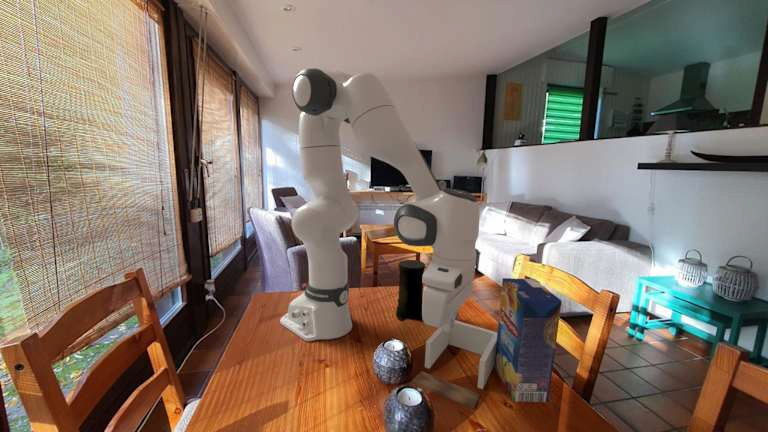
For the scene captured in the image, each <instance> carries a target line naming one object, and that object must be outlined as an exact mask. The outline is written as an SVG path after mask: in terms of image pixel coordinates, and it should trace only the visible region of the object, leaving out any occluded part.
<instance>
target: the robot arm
mask: <svg viewBox="0 0 768 432" xmlns="http://www.w3.org/2000/svg"><path fill="white" fill-rule="evenodd" d="M291 90H292V92H291V93H292V98H293V102H294V104H295V107H297V109H298V110H299V111H300V112H301V113H300V115H299V121H298V122H299V123H298V145H299V154H300V160H301V169H302V177H303V179H304V180H305V182H306V183H307V184H309V186H310V188H311V190H312V192H313V195H314V198H315V200H312V201H308V202H306V203H305V204H302V206H300V207H299V208H297V209H296V210H295V211H294V212H293V214H292V217H291V228H292V232H293V234H294V235H295V237H296V238H298V240H300V241H302V243H303V246H304V247H305V251H306V254H307V260H308V281H307V282H304V283H302V284H301V288H303V289H304V288H305V290H304V292H303V293H301V294H300V295H298V296H297V297H296V298H294V299H292V300H291V301H290V303H289V305H288V309H287V313H285V314H284V315H283V316H282V317H281V318H280V320H279V323H280V325H281V326H283V327H284V328H286V329H288V330H289V331H291V333H294V334H295V335H296V336H298V337H300V338H301V339H302V340H304V341H306V342H312V341H317V340H333V339H334V340H335V339H338V338H341V337H343V336H346V335H348V333H349V332H350V331H352V329H353V322H352V318H351V314H350V307H349V295H350V292H349V291H350V286H349V280H348V256H347V253H345V252H344V251H343V248H342V245H341V240H340V235H341V234H342V233H343V232H346V231H348V230H350V229H351V228H352V227H353V226H354V224H355V223H356V222H357V220H358V218H359V215H360V214H359V213H360V212H359V207H358V205H357V202H356V201H354V199H353V198H352V195H351V192H350V190H349V187H348V185H347V181H346V178H345V173H344V163H343V157H342V156H343V155H342V147H341V139H340V126H341V125H342V123H343V122H345V123H346V124H350V126H351V128H352V131H353V134H354V136H355V138H356V140H357V142H358V144H359V146H360V147H361V148H362V150H363V151H364V152H365V153H366V154H367V155H368V156H370V157H371V158H374V159H376V160H379V161H381V162H385V164H386V163H387V164H389V165H390V166H392V167H394V168H395V169H397V170H398V171H400V172H401V174H402V175H403V176H404V178H405V179H406V181H407V183H408V185H409V186H410V188H411V190H412V192H413V194H414V195H415V197H416V201H411V202H407V203H405V204H402V205H401V206H400V207H399V208H398V209H397V210H396V212H395V214H394V218H393V229H394V232H395V235H396V237H397V238H398V240H400V241H401V242H402V243H403V244H405V245H407V246H411V247H431V248H432V259H430V263H429V265H428V266H427V267H426V270H424V274H423V277H422V283H423V285H425V286H424V287H423V295H422V300H423V303H422V318H423V319H422V321H423V323H424V324H425V325H427V326H430V327H433V328H436V329H438V328H441V327H442V329H443V330H444V331H447V332H449V331H450V330H451V328H452V327H453V326H454V324H455V318H456V315H457V312H458V313H459V309H460V307H461V306H462V305H463V304H464V303H465V302H466V301H467V300H468V299H469V298H470V297H471V296H472V292H473V288H474V287H473V286H474V285H473V284H474V279H475V273H476V272H475V271H476V262H477V252H476V251H477V250H476V243H477V240H478V237H479V231H480V205H479V201H478V198H477V197H476V196H475V195H473V194H472V193H470V192H468V191H465V190H461V189H455V188H441V186H440V184H439V182H438V180H437V179H436V177H435V175H434V174H433V171H432V170H431V167H430V166H429V164H428V163H427V161H426V159H425V157H424V156H423V153H422V152H421V150H420V149H419V147H418V146H417V145H416V143H415V141H414V140H413V138H412V137H411V135H410V134H409V131H408V130H407V128H406V126H405V124H404V122H403V121H402V118H401V117H400V115H399V113H398V110H397V107H396V106H395V103H394V102H393V99H392V98H391V96H390V94H389V92H388V91H387V89H386V88H385V86H384V84H383V83H382V82H381V80H380V79H379V78H378V77H377V76H376V75H375V74H373V73H369V72H361V73H356V74H354V75H352V74H350V73H346V72H344V71H343V72H342V71H339V70H338V71H337V70H335V71H333V70H327V69H326V70H325V69H324V70H323V69H322V70H321V69H319V68H304V69H302V70H300V71H299V72H298V73H297V74H296V75H295V78H294V81H293V83H292V89H291ZM458 308H459V309H458Z"/></svg>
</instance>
